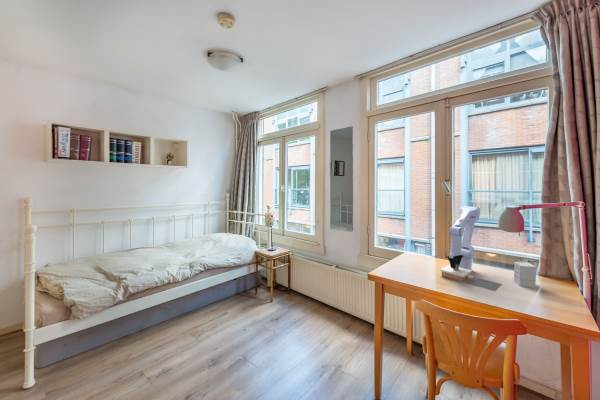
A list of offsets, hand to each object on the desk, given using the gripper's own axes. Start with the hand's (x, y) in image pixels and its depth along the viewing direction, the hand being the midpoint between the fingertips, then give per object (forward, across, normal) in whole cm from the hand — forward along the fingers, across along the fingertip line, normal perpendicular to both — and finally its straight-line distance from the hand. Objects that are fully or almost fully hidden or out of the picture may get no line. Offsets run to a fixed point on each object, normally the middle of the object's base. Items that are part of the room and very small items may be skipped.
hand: (455, 266), depth 155 cm
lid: (+3, 0, 0) cm, 3 cm away
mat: (+7, +1, -15) cm, 16 cm away
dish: (+7, 0, 0) cm, 7 cm away
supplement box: (+7, +17, -30) cm, 35 cm away
